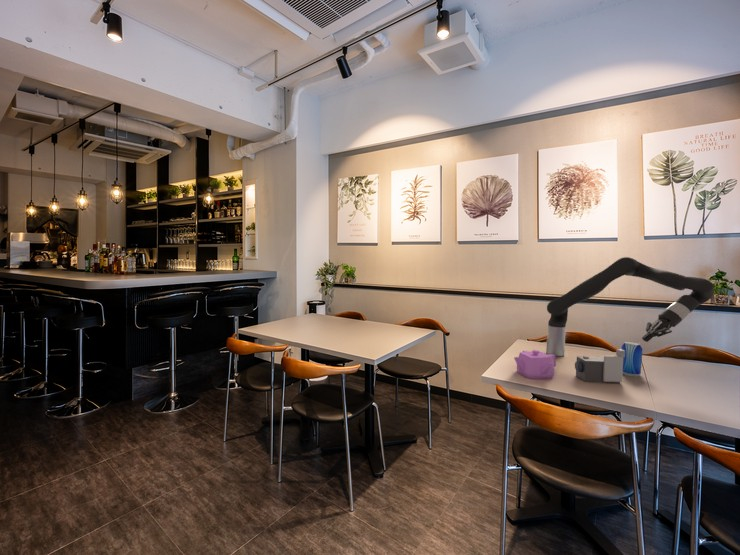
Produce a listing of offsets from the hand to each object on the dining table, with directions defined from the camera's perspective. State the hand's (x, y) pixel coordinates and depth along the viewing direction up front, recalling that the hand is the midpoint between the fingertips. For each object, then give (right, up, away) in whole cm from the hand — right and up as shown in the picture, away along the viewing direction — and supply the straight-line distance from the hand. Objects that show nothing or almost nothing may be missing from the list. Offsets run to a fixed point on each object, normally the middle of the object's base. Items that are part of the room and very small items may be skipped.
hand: (644, 340), depth 162 cm
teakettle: (-45, -20, +13) cm, 51 cm away
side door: (-13, -20, +2) cm, 24 cm away
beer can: (+5, -20, +15) cm, 26 cm away
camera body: (-17, -20, +7) cm, 27 cm away
